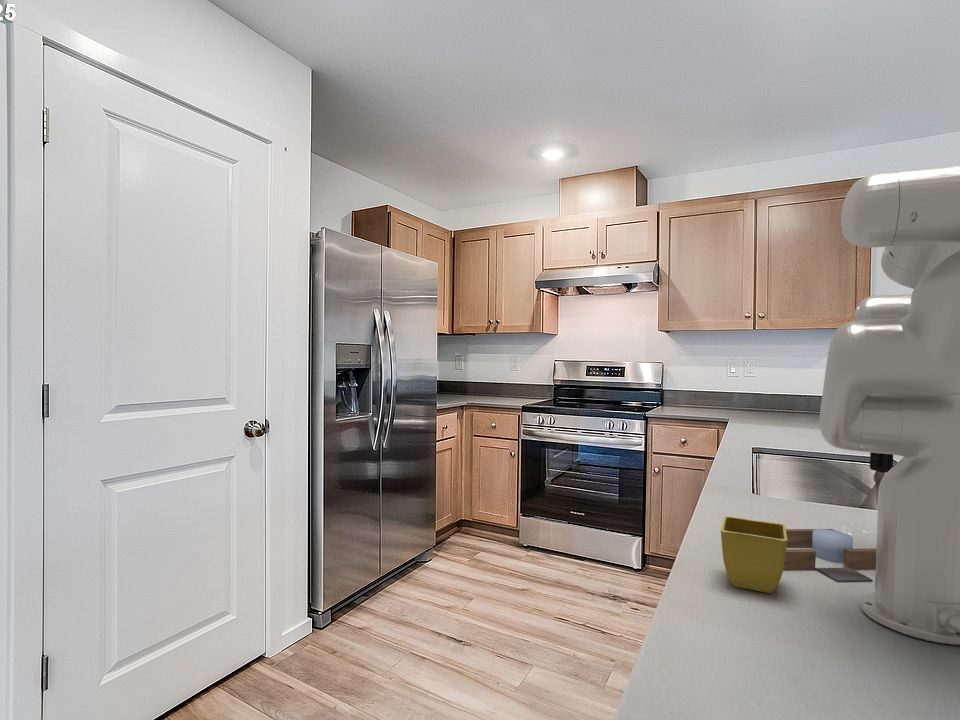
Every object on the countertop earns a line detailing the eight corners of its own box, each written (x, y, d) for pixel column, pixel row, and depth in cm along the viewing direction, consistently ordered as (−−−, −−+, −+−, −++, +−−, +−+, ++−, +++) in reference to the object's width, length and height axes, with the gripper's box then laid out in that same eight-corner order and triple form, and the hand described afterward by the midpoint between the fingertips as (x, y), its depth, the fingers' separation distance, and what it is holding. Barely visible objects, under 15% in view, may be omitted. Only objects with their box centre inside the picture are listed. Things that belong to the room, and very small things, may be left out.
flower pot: (718, 589, 81) (720, 529, 81) (722, 569, 89) (723, 514, 88) (785, 603, 77) (787, 540, 77) (783, 581, 84) (785, 524, 84)
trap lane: (907, 580, 86) (908, 555, 86) (782, 582, 84) (782, 557, 84) (813, 536, 107) (814, 515, 107) (711, 536, 105) (711, 516, 104)
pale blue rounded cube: (860, 563, 93) (861, 540, 93) (828, 563, 92) (829, 540, 92) (834, 550, 99) (835, 529, 99) (804, 551, 98) (804, 529, 98)
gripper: (904, 368, 101) (900, 466, 101) (830, 367, 99) (826, 466, 100) (942, 370, 93) (938, 475, 94) (863, 369, 92) (859, 476, 92)
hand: (881, 470), depth 97 cm, fingers closed
